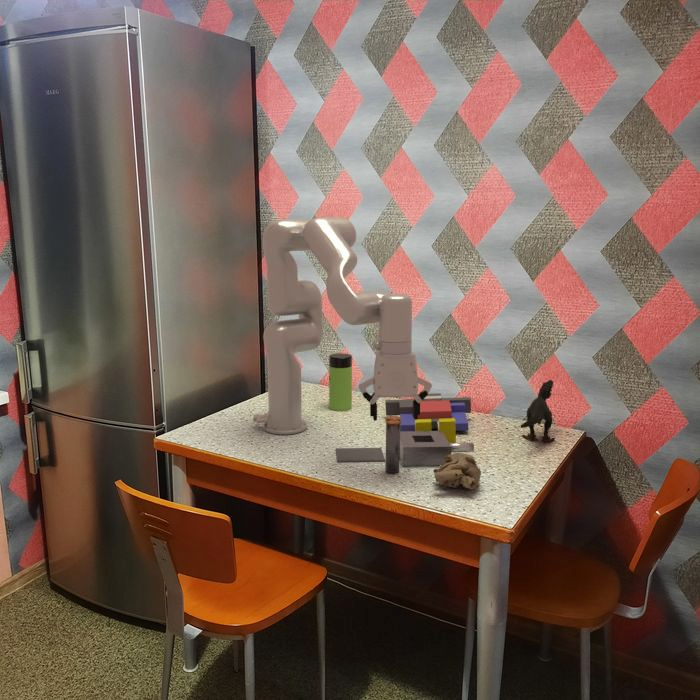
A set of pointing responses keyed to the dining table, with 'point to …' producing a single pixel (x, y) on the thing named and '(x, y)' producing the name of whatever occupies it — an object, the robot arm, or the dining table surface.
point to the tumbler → (340, 381)
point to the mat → (360, 455)
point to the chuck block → (427, 448)
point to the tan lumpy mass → (458, 471)
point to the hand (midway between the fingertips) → (395, 418)
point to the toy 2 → (540, 413)
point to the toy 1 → (432, 414)
